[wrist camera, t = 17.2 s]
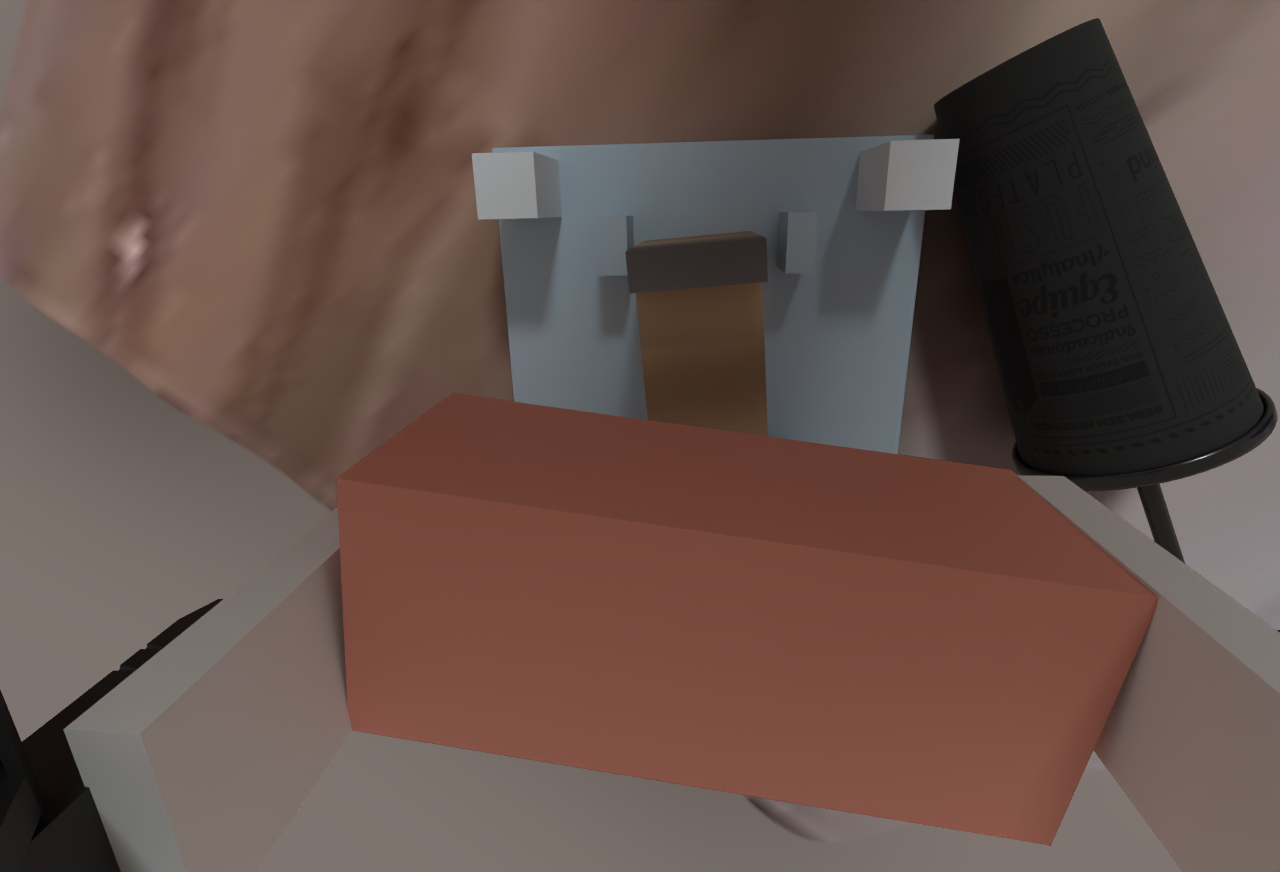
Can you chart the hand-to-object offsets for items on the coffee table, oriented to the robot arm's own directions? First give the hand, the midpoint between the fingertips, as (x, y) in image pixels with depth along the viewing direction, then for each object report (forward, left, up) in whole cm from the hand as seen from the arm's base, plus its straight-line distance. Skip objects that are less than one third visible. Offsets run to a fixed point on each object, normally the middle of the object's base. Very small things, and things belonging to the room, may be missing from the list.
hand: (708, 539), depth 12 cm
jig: (0, 0, -16) cm, 16 cm away
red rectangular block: (0, 0, 0) cm, 0 cm away
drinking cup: (-10, +10, -14) cm, 20 cm away
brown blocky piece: (0, 0, -15) cm, 15 cm away
